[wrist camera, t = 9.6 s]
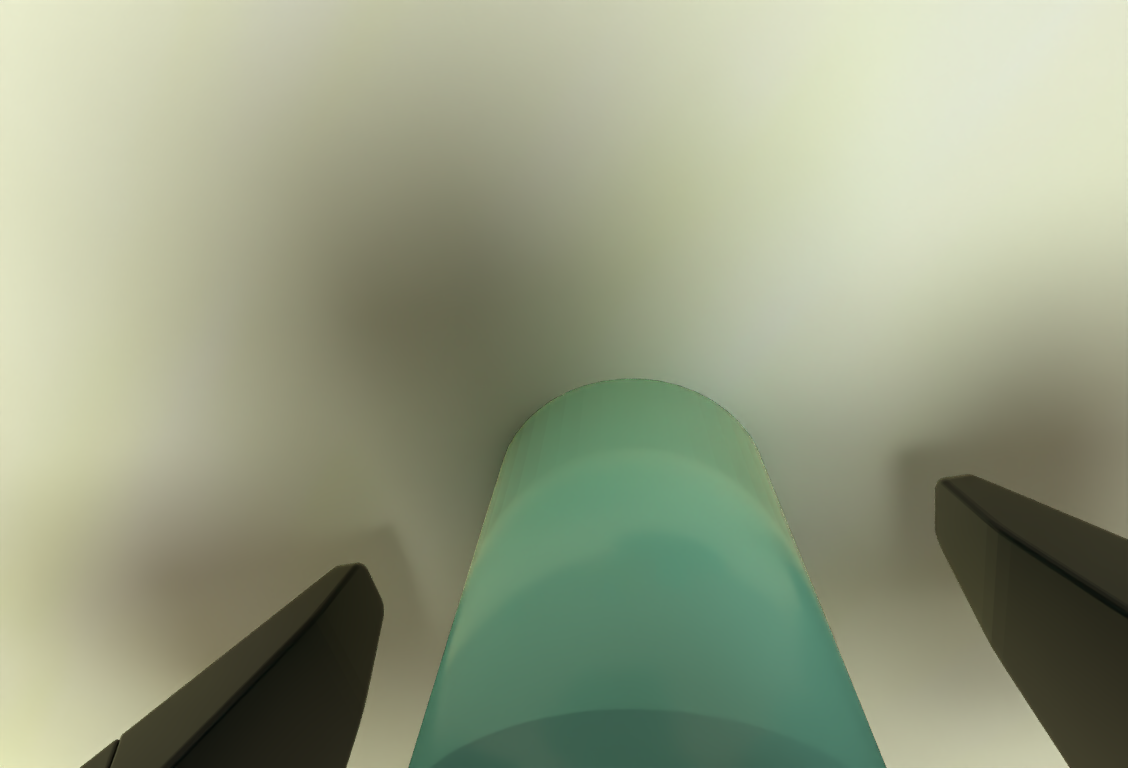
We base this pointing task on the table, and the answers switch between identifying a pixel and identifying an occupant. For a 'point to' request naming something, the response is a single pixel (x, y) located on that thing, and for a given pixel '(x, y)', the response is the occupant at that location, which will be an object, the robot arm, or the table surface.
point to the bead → (639, 604)
